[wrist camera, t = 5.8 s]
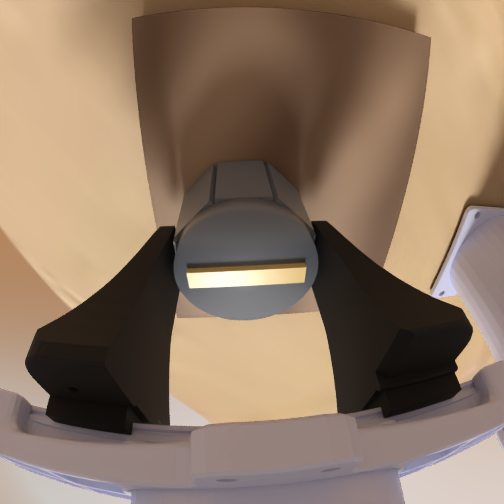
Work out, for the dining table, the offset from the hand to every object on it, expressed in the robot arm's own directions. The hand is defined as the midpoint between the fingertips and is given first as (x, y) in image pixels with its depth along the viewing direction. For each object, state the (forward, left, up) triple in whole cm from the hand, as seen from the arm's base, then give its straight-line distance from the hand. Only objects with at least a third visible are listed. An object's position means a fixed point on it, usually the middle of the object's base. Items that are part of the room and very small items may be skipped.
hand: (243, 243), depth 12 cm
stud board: (-2, -1, -3) cm, 4 cm away
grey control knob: (0, 0, -2) cm, 2 cm away
